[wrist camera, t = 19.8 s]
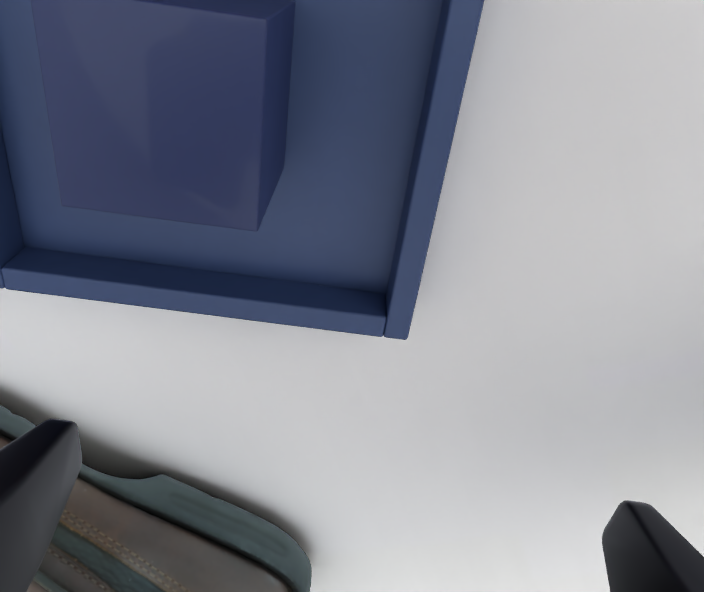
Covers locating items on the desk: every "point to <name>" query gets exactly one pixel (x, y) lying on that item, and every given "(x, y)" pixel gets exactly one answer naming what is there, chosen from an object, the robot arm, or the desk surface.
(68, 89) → the blue block
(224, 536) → the loafer
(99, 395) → the desk surface
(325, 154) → the blue tray
